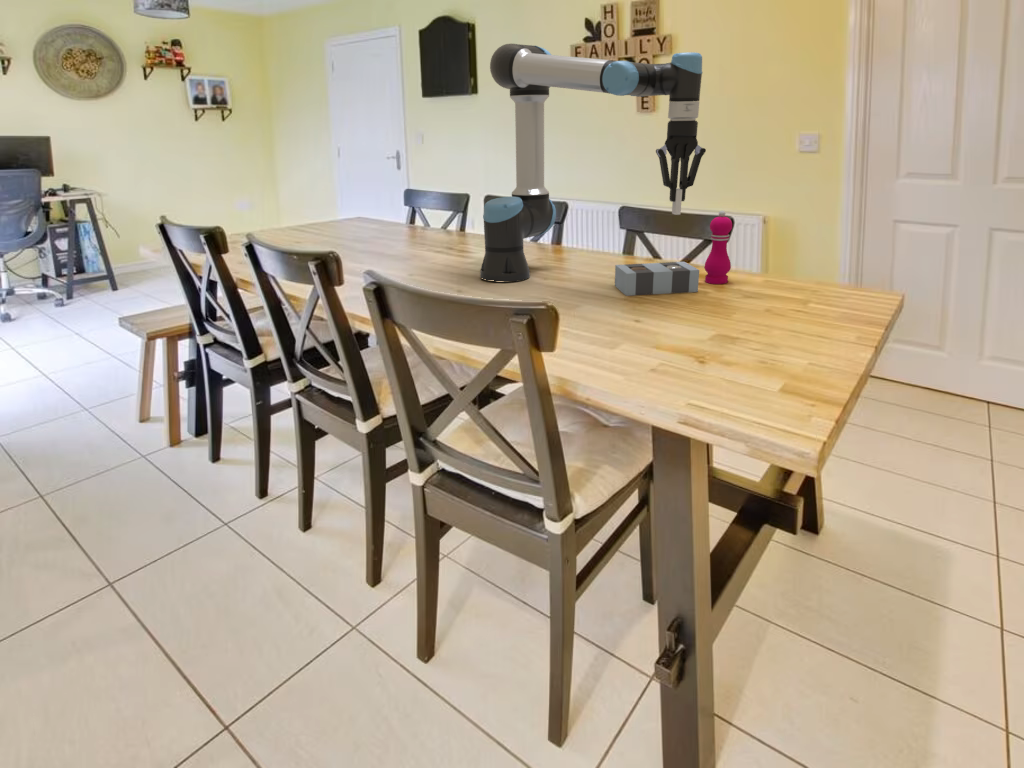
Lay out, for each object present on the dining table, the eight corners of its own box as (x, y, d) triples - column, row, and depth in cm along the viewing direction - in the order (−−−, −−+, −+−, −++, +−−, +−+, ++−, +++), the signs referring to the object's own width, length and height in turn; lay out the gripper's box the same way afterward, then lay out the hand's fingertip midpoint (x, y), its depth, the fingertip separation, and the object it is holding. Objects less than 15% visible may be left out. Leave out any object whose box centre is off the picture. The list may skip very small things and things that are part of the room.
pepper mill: (730, 284, 189) (737, 212, 182) (704, 284, 191) (709, 212, 183) (728, 279, 196) (734, 209, 189) (702, 278, 197) (707, 209, 190)
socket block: (625, 295, 181) (626, 273, 179) (614, 285, 192) (615, 264, 190) (697, 291, 183) (699, 269, 180) (682, 282, 194) (684, 261, 192)
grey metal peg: (668, 289, 186) (669, 268, 183) (663, 286, 189) (664, 265, 187) (682, 288, 186) (683, 267, 184) (677, 285, 190) (678, 264, 188)
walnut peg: (632, 291, 185) (633, 270, 183) (628, 287, 188) (629, 267, 186) (646, 290, 185) (647, 269, 183) (642, 287, 189) (643, 266, 187)
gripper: (662, 120, 168) (656, 216, 176) (713, 119, 169) (704, 215, 178) (653, 120, 175) (648, 212, 183) (702, 119, 176) (694, 211, 185)
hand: (676, 213), depth 181 cm, fingers closed
